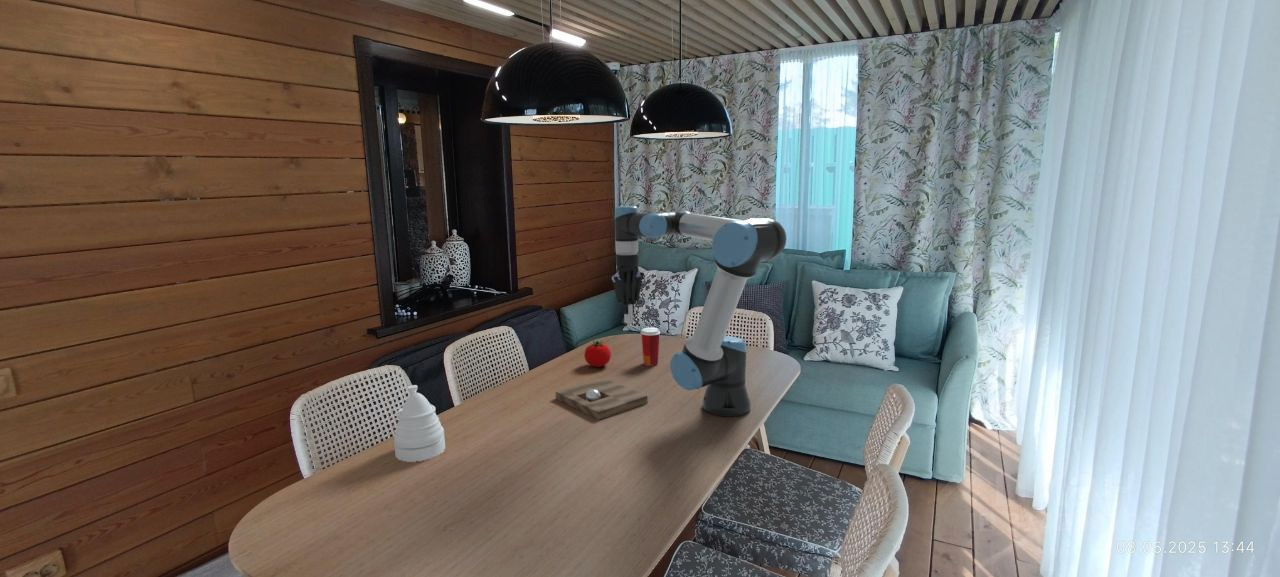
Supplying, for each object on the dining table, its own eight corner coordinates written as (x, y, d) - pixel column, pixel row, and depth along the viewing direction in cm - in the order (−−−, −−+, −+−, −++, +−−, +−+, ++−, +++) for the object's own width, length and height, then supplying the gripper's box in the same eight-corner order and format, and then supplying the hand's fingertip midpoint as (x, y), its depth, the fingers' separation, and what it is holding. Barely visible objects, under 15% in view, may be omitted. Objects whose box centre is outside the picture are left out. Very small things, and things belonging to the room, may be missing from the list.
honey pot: (388, 450, 162) (382, 388, 159) (434, 436, 170) (429, 377, 167) (404, 466, 152) (398, 401, 149) (452, 451, 160) (447, 389, 157)
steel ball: (588, 404, 188) (596, 409, 192) (598, 391, 189) (606, 397, 192) (579, 396, 191) (588, 401, 195) (589, 383, 192) (597, 389, 196)
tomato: (593, 360, 238) (592, 336, 236) (616, 364, 233) (615, 339, 231) (579, 368, 229) (578, 343, 227) (603, 371, 224) (602, 346, 222)
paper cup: (661, 361, 236) (660, 327, 233) (659, 367, 229) (659, 332, 226) (641, 360, 237) (641, 327, 234) (639, 366, 229) (639, 332, 227)
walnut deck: (647, 403, 192) (647, 395, 192) (598, 419, 180) (598, 412, 179) (603, 384, 210) (603, 377, 210) (555, 398, 198) (555, 391, 197)
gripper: (634, 250, 201) (636, 317, 205) (604, 254, 192) (606, 324, 197) (649, 252, 195) (650, 321, 199) (618, 256, 187) (620, 328, 191)
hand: (628, 322), depth 198 cm, fingers closed
